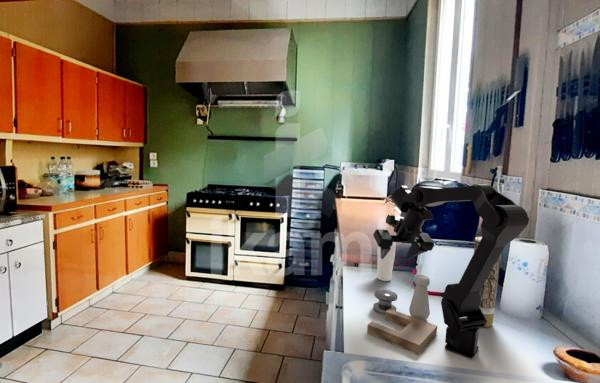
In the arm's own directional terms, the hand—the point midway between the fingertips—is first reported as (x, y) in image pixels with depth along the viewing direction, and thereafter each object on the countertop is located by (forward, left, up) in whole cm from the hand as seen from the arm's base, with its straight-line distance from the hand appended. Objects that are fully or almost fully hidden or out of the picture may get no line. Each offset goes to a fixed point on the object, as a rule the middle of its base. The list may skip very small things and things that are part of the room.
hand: (394, 258), depth 110 cm
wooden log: (-26, -5, -14) cm, 30 cm away
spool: (-2, +8, -14) cm, 16 cm away
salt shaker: (-12, +6, -14) cm, 19 cm away
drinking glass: (+10, -16, -14) cm, 24 cm away
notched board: (-12, +18, -14) cm, 26 cm away
